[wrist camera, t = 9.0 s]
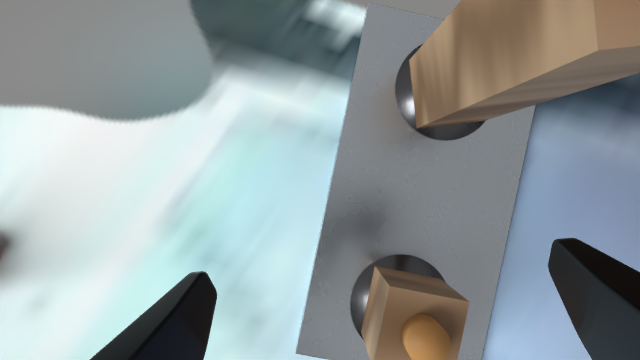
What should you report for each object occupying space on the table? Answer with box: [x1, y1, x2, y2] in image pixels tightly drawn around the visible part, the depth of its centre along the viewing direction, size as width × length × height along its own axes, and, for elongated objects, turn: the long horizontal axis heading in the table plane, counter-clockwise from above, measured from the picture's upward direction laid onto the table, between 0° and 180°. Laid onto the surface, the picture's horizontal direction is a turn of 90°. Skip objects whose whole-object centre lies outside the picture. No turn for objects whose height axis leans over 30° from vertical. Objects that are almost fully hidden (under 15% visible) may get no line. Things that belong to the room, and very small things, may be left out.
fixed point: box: [361, 266, 470, 360], centre depth 17 cm, size 4×4×4 cm
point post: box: [409, 0, 640, 128], centre depth 12 cm, size 4×4×14 cm
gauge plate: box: [296, 3, 535, 360], centre depth 20 cm, size 21×11×1 cm, turn 168°
